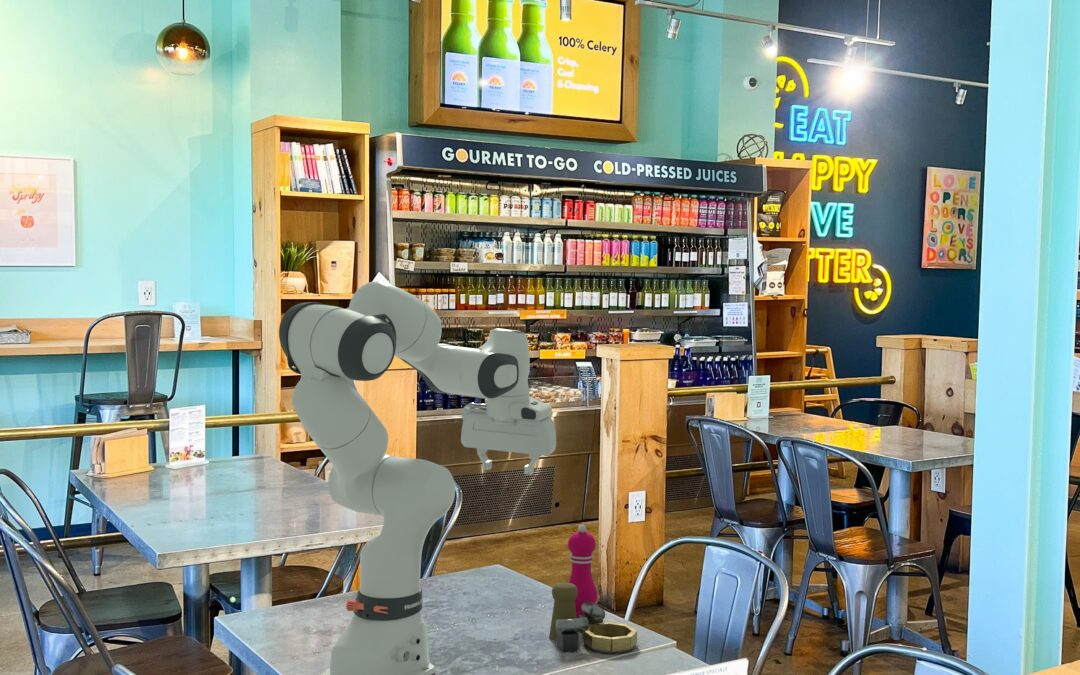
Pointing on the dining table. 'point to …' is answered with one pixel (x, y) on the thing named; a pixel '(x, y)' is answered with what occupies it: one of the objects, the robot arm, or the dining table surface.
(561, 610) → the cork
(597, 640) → the coupling collar
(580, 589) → the pepper mill
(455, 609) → the dining table surface
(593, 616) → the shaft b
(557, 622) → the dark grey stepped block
